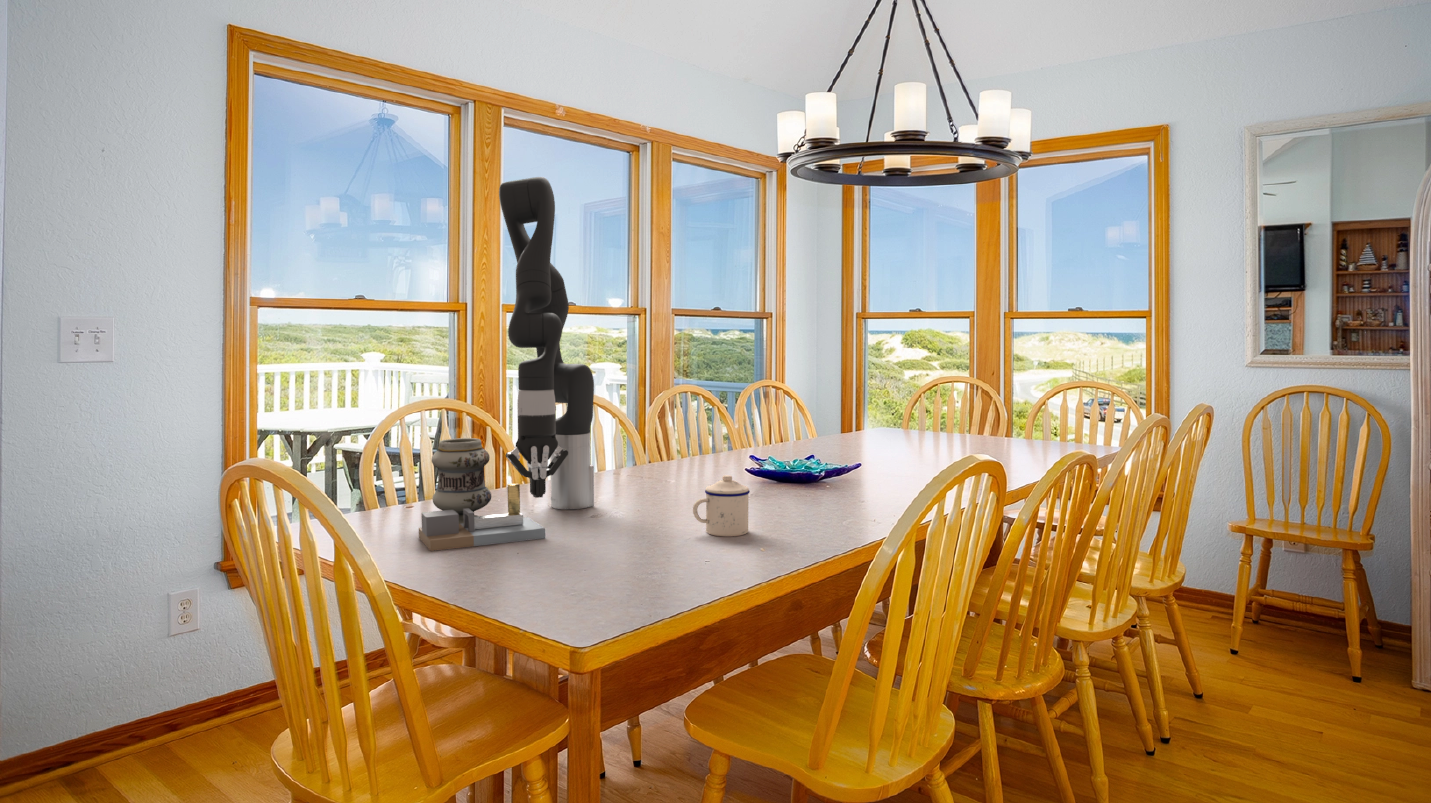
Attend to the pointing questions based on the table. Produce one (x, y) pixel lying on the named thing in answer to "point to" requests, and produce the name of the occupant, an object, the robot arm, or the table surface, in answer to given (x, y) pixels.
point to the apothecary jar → (461, 475)
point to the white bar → (504, 519)
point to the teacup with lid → (725, 508)
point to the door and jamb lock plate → (471, 531)
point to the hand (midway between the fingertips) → (537, 496)
